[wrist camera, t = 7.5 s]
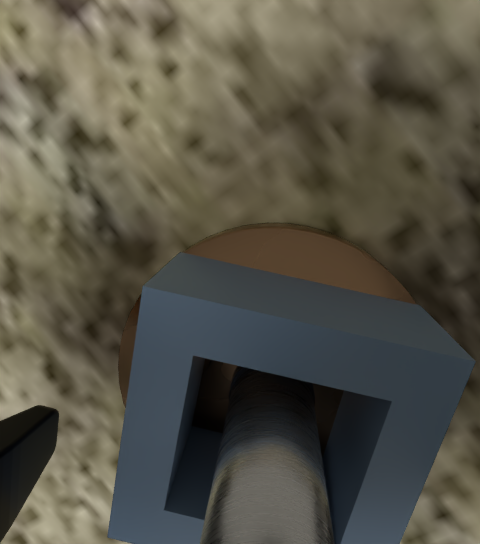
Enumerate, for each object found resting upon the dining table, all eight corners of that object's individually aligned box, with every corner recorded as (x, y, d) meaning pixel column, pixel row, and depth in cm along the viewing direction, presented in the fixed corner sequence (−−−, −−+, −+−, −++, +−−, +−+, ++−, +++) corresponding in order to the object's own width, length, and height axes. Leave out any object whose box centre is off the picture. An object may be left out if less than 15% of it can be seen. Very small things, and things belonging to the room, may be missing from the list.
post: (470, 262, 11) (787, 428, 4) (372, 514, 13) (467, 874, 7) (152, 191, 11) (-41, 236, 4) (114, 451, 14) (-45, 733, 7)
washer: (420, 305, 10) (475, 361, 7) (351, 498, 12) (374, 603, 9) (180, 251, 10) (142, 286, 8) (147, 448, 12) (107, 537, 9)
